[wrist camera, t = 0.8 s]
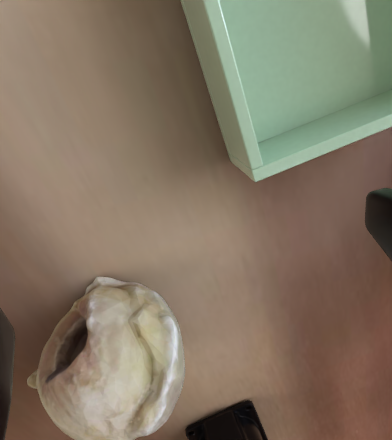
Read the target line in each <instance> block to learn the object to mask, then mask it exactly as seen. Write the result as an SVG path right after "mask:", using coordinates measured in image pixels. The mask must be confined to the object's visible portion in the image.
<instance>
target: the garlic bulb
mask: <svg viewBox="0 0 392 440" xmlns="http://www.w3.org/2000/svg"><path fill="white" fill-rule="evenodd" d="M184 377H185V358H184V348H183V342H182V337H181V333H180V327H179V325H178V321H177V320H176V318H175V316H174V315H173V313H172V311H171V309H170V308H169V306H168V305H167V303H166V302H165V301H164V299H163V298H162V297H161V296H160V295H159V294H158V293H157V292H155V291H152V290H150V289H149V288H147V287H146V286H144V285H142V284H140V283H135V282H122V281H118V280H115V279H112V278H109V277H96V279H95V280H94V282H93V283H92V284H90V285H89V286H88V287H87V288H86V293H85V295H84V296H83V297H82V298H80V299H78V300H76V301H75V302H74V305H73V307H72V308H71V310H70V311H69V312H68V313H67V314H66V315H65V316H64V317H63V318H62V319H61V320H60V321H59V323H58V324H57V326H56V327H55V329H54V331H53V333H52V335H51V337H50V339H49V340H48V342H47V343H46V345H45V346H44V349H43V351H42V355H41V359H40V363H39V367H38V370H36V371H35V372H34V373H33V374H32V375H30V376H29V378H28V380H27V384H28V385H29V386H30V387H31V388H34V389H36V388H37V390H38V393H39V396H40V399H41V402H42V404H43V406H44V408H45V410H46V411H47V413H48V415H49V416H50V418H51V419H52V421H53V422H54V423H55V424H56V425H57V426H58V427H59V429H61V430H62V431H63V432H64V433H65V434H67V435H68V436H70V437H71V438H73V439H75V440H135V439H136V438H137V437H142V436H146V435H149V434H152V433H154V432H155V431H156V430H158V429H159V428H160V427H161V426H162V425H163V424H164V423H165V422H166V421H167V419H168V418H169V416H170V415H171V414H172V412H173V409H174V407H175V405H176V402H177V400H178V398H179V396H180V393H181V390H182V387H183V382H184Z"/></svg>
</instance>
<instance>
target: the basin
mask: <svg viewBox="0 0 392 440" xmlns="http://www.w3.org/2000/svg"><path fill="white" fill-rule="evenodd" d="M181 4H182V7H183V10H184V13H185V17H186V20H187V23H188V26H189V29H190V33H191V36H192V39H193V42H194V45H195V49H196V52H197V55H198V58H199V62H200V65H201V68H202V71H203V74H204V78H205V81H206V84H207V87H208V91H209V94H210V97H211V100H212V103H213V107H214V110H215V113H216V116H217V119H218V123H219V126H220V129H221V132H222V136H223V139H224V142H225V145H226V148H227V152H228V155H229V158H230V161H231V162H232V163H233V164H234V165H235V166H236V167H238V168H239V169H240V170H241V171H242V172H244V173H245V174H246V175H247V176H248V177H250V178H251V179H252V180H253V181H254V182H257V181H260V180H262V179H265V178H267V177H270V176H272V175H274V174H277V173H279V172H282V171H284V170H287V169H289V168H292V167H294V166H297V165H299V164H301V163H304V162H306V161H309V160H311V159H314V158H316V157H319V156H321V155H323V154H326V153H328V152H331V151H333V150H336V149H338V148H341V147H343V146H346V145H348V144H350V143H353V142H355V141H358V140H360V139H363V138H365V137H368V136H370V135H372V134H375V133H377V132H380V131H382V130H385V129H387V128H390V127H392V0H181Z"/></svg>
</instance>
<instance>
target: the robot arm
mask: <svg viewBox="0 0 392 440" xmlns="http://www.w3.org/2000/svg"><path fill="white" fill-rule="evenodd" d="M365 225H366V228H367V230H368V231H369V233H370V234H371V235H372V237H373V238H374V239H375V240H376V242H377V243H378V244H379V246H380V247H381V248H382V249H383V251H384V252H385V253H386V255H387V256H388V257H389V258H390V260H391V261H392V189H389V188H382V189H379V190H375V191H372V192H370V193H369V194H368V195H367V197H366V210H365ZM14 349H15V332H14V329H13V327H12V325H11V323H10V322H9V320H8V319H7V317H6V316H5V314H4V313H3V311H2V310H1V308H0V440H5V434H6V429H7V423H8V417H9V411H10V405H11V396H12V383H13V366H14ZM185 431H186V436H187V437H188V439H189V440H268V439H267V436H266V434H265V432H264V429H263V427H262V424H261V422H260V420H259V417H258V415H257V412H256V410H255V408H254V405H253V403H252V401H245V402H243V403H240V404H238V405H236V406H233V407H231V408H229V409H226V410H224V411H222V412H219V413H217V414H215V415H213V416H210V417H208V418H206V419H203V420H201V421H199V422H196V423H194V424H192V425H190V426H188V427H187V428H186V429H185Z"/></svg>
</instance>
